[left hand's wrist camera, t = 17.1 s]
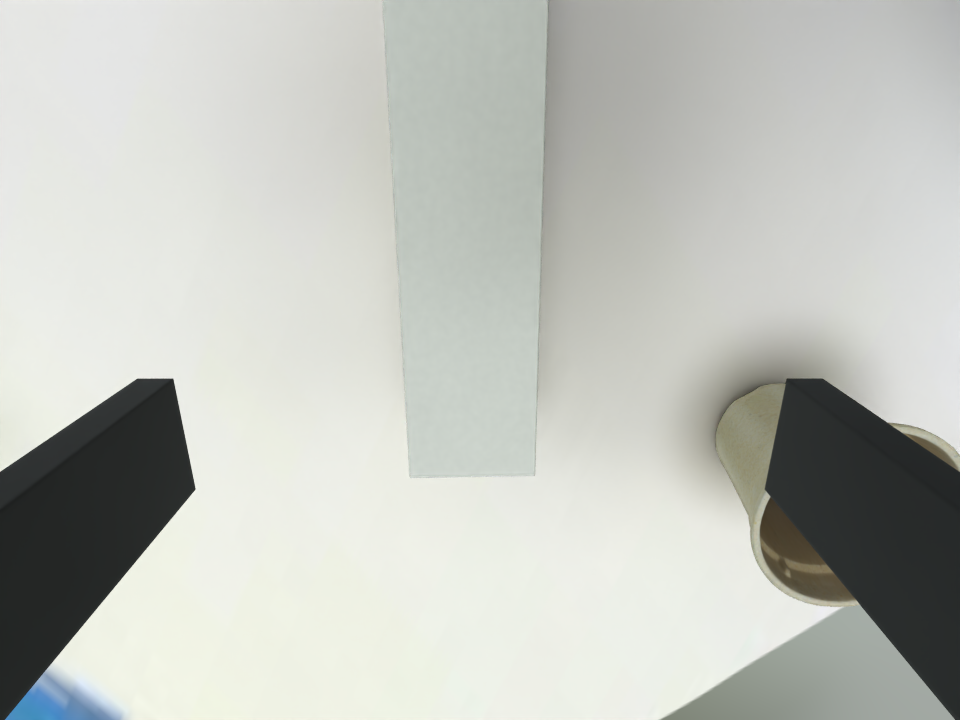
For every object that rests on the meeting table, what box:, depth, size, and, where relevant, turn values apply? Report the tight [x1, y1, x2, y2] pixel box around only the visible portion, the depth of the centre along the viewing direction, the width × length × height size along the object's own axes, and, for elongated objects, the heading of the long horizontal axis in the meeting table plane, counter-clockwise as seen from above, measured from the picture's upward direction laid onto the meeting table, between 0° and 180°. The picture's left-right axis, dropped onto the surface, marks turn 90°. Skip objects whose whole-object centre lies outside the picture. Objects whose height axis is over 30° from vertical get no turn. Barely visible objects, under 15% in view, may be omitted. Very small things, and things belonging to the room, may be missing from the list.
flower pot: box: [715, 383, 960, 607], centre depth 29 cm, size 9×9×9 cm
